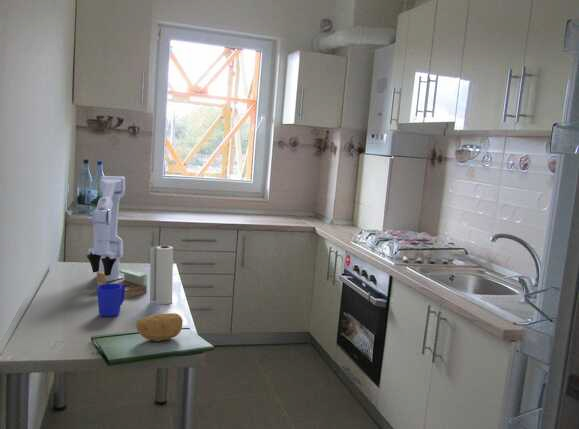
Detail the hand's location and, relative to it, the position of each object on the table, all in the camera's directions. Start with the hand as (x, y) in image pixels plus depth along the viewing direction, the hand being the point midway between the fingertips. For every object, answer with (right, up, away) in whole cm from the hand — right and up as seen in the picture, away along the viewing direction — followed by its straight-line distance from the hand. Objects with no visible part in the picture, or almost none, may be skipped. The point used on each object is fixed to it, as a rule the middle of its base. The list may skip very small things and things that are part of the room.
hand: (101, 273), depth 215 cm
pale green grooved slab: (+12, -7, +2) cm, 14 cm away
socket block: (+9, -7, -2) cm, 12 cm away
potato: (+34, -16, -48) cm, 61 cm away
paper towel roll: (+27, -10, -11) cm, 30 cm away
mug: (+13, -11, -25) cm, 30 cm away
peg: (0, -7, +1) cm, 7 cm away
